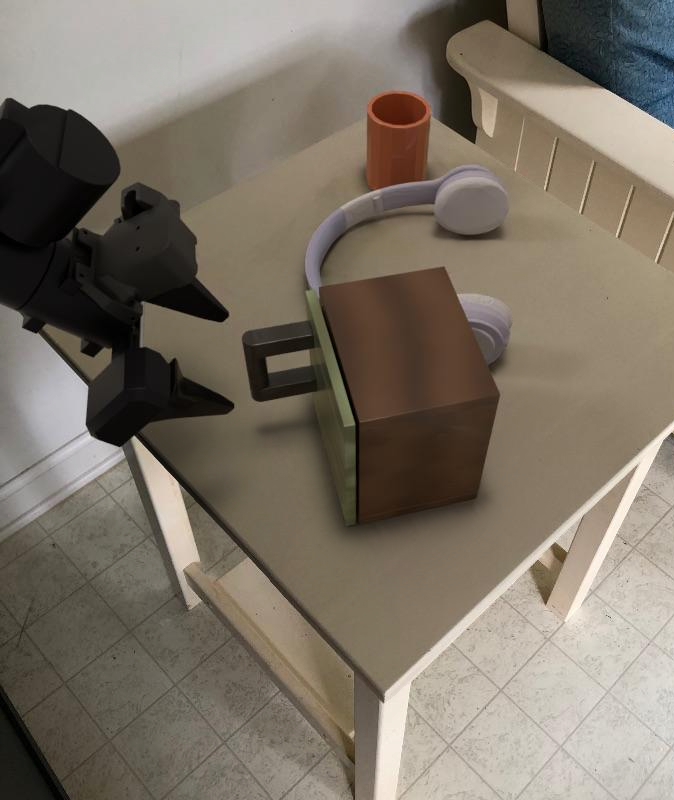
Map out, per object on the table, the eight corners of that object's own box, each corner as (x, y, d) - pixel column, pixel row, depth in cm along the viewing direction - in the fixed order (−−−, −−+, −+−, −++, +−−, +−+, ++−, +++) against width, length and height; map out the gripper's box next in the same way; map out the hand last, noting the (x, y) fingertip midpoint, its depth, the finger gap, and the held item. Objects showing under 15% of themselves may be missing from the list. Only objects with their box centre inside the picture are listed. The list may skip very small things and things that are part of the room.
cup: (365, 198, 90) (366, 126, 83) (366, 160, 94) (367, 89, 87) (426, 199, 91) (431, 128, 83) (424, 162, 95) (430, 91, 87)
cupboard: (359, 524, 66) (359, 422, 55) (324, 398, 73) (318, 286, 62) (477, 498, 68) (500, 394, 57) (431, 378, 75) (444, 265, 64)
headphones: (507, 214, 89) (324, 209, 91) (512, 159, 84) (317, 155, 85) (509, 373, 76) (294, 365, 77) (516, 321, 70) (283, 313, 71)
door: (280, 541, 65) (264, 442, 54) (253, 411, 72) (234, 302, 61) (356, 524, 66) (355, 424, 55) (321, 398, 73) (315, 288, 62)
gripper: (93, 304, 44) (311, 405, 54) (108, 102, 55) (287, 217, 65) (-9, 409, 49) (207, 483, 59) (23, 205, 60) (201, 297, 70)
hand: (228, 361), depth 63 cm, fingers open, 9 cm apart
